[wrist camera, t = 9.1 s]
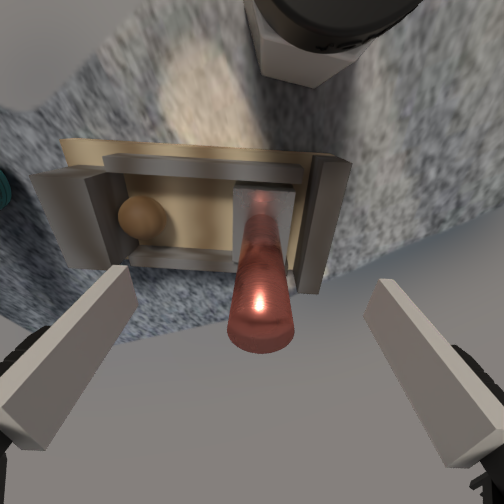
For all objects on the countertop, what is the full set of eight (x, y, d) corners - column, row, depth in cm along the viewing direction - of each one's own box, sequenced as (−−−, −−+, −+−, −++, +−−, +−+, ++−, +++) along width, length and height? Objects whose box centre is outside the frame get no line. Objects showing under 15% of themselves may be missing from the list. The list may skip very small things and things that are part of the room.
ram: (235, 247, 24) (208, 374, 12) (236, 180, 20) (199, 262, 8) (282, 250, 24) (303, 381, 12) (291, 183, 20) (335, 271, 8)
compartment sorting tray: (109, 248, 27) (65, 284, 21) (75, 138, 21) (0, 143, 15) (307, 261, 27) (320, 301, 21) (329, 153, 21) (357, 165, 15)
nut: (143, 226, 24) (113, 242, 20) (135, 188, 22) (101, 199, 18) (177, 232, 23) (151, 250, 19) (172, 193, 21) (143, 206, 17)
